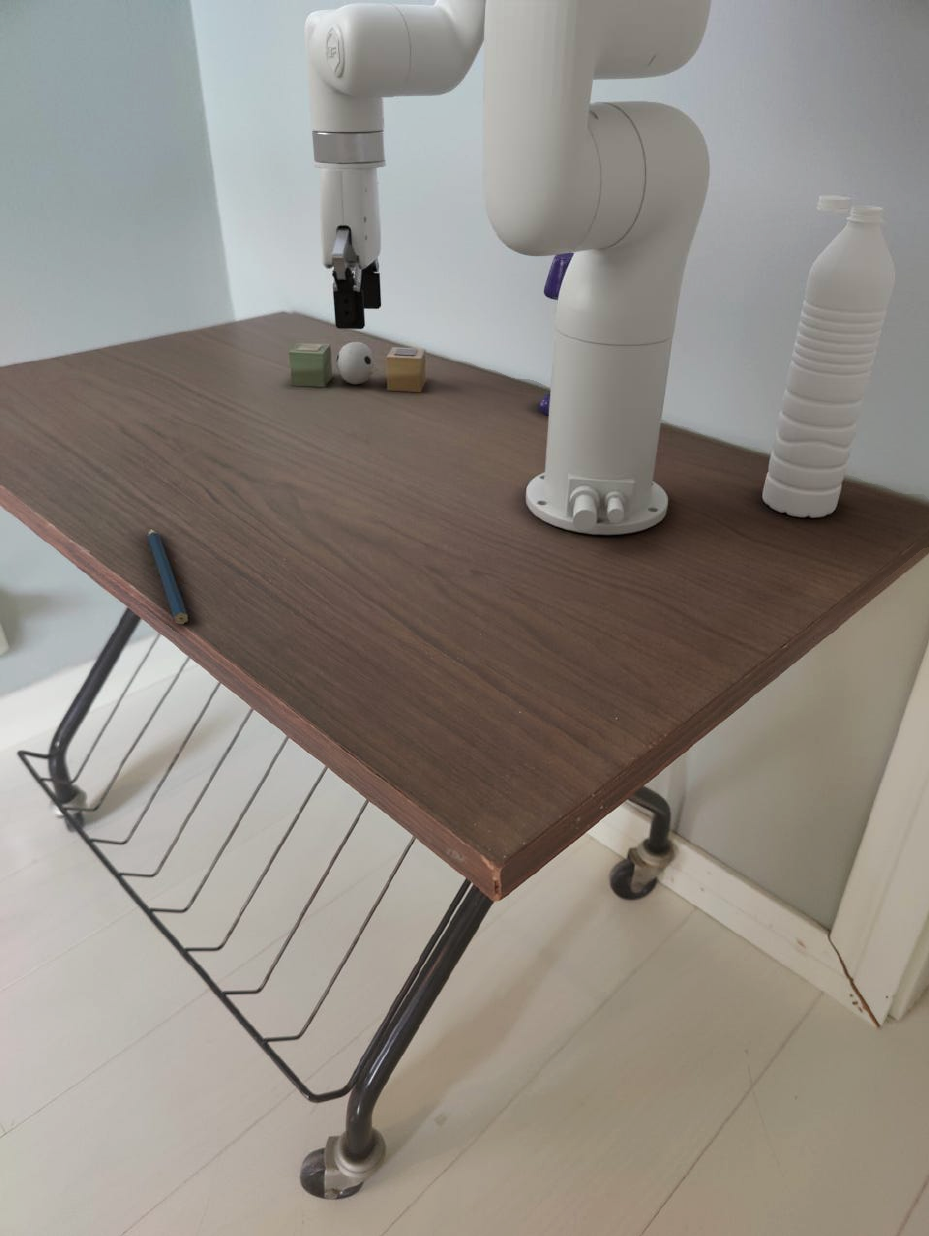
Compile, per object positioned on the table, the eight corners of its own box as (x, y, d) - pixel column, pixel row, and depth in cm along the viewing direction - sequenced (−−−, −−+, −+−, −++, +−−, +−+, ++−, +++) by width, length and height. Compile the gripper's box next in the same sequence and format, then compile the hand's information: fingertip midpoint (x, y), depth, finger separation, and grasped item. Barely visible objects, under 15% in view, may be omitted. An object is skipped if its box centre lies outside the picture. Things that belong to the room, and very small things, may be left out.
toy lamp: (585, 415, 102) (600, 257, 93) (549, 421, 100) (560, 260, 91) (563, 401, 105) (575, 248, 96) (528, 407, 104) (536, 251, 95)
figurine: (372, 392, 107) (371, 349, 104) (332, 388, 108) (329, 346, 105) (384, 379, 111) (383, 338, 108) (345, 375, 112) (343, 334, 109)
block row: (420, 392, 107) (420, 357, 105) (291, 385, 108) (288, 351, 106) (425, 381, 111) (425, 347, 108) (300, 375, 112) (297, 341, 110)
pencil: (190, 615, 64) (158, 525, 76) (177, 611, 64) (147, 522, 75) (185, 625, 65) (154, 534, 76) (172, 621, 64) (142, 530, 76)
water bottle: (850, 515, 81) (933, 211, 68) (786, 522, 80) (857, 213, 66) (796, 476, 88) (860, 194, 75) (735, 482, 87) (790, 195, 73)
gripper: (333, 144, 104) (343, 300, 113) (292, 157, 89) (308, 335, 98) (398, 145, 103) (403, 302, 112) (368, 158, 88) (377, 337, 97)
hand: (359, 317), depth 105 cm, fingers open, 9 cm apart
